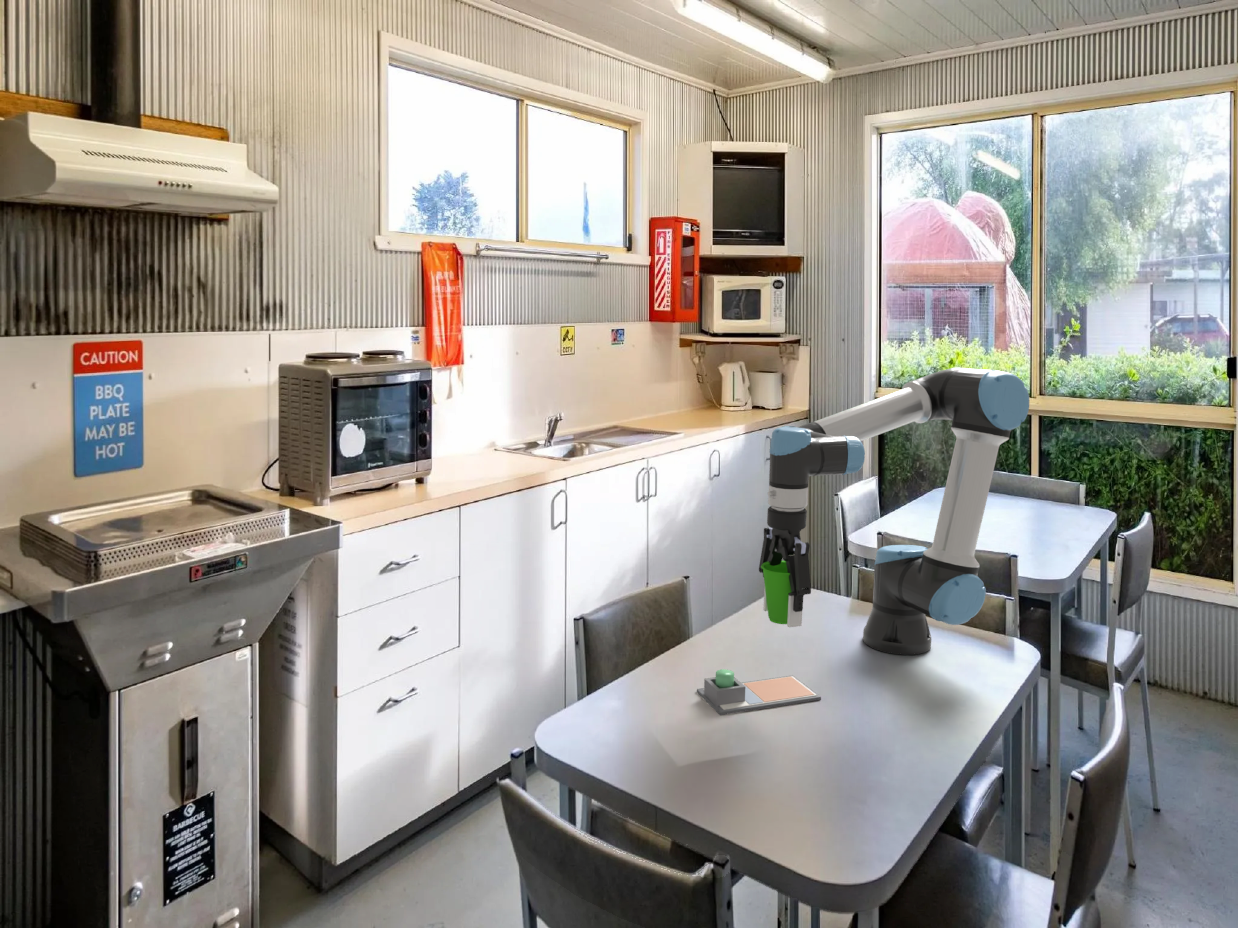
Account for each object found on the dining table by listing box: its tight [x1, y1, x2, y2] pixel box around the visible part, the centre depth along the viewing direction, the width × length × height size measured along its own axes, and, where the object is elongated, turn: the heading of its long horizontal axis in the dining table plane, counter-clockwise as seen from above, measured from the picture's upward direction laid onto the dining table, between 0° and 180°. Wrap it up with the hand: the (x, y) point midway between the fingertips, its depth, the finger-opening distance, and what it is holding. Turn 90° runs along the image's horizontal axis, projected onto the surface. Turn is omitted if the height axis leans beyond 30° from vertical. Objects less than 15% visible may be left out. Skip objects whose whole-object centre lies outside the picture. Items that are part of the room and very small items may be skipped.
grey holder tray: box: [696, 674, 822, 716], centre depth 177 cm, size 22×11×4 cm, turn 109°
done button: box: [715, 668, 735, 689], centre depth 175 cm, size 4×4×3 cm
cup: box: [761, 560, 791, 625], centre depth 176 cm, size 9×9×11 cm
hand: (781, 617), depth 177 cm, fingers closed on cup, 9 cm apart
